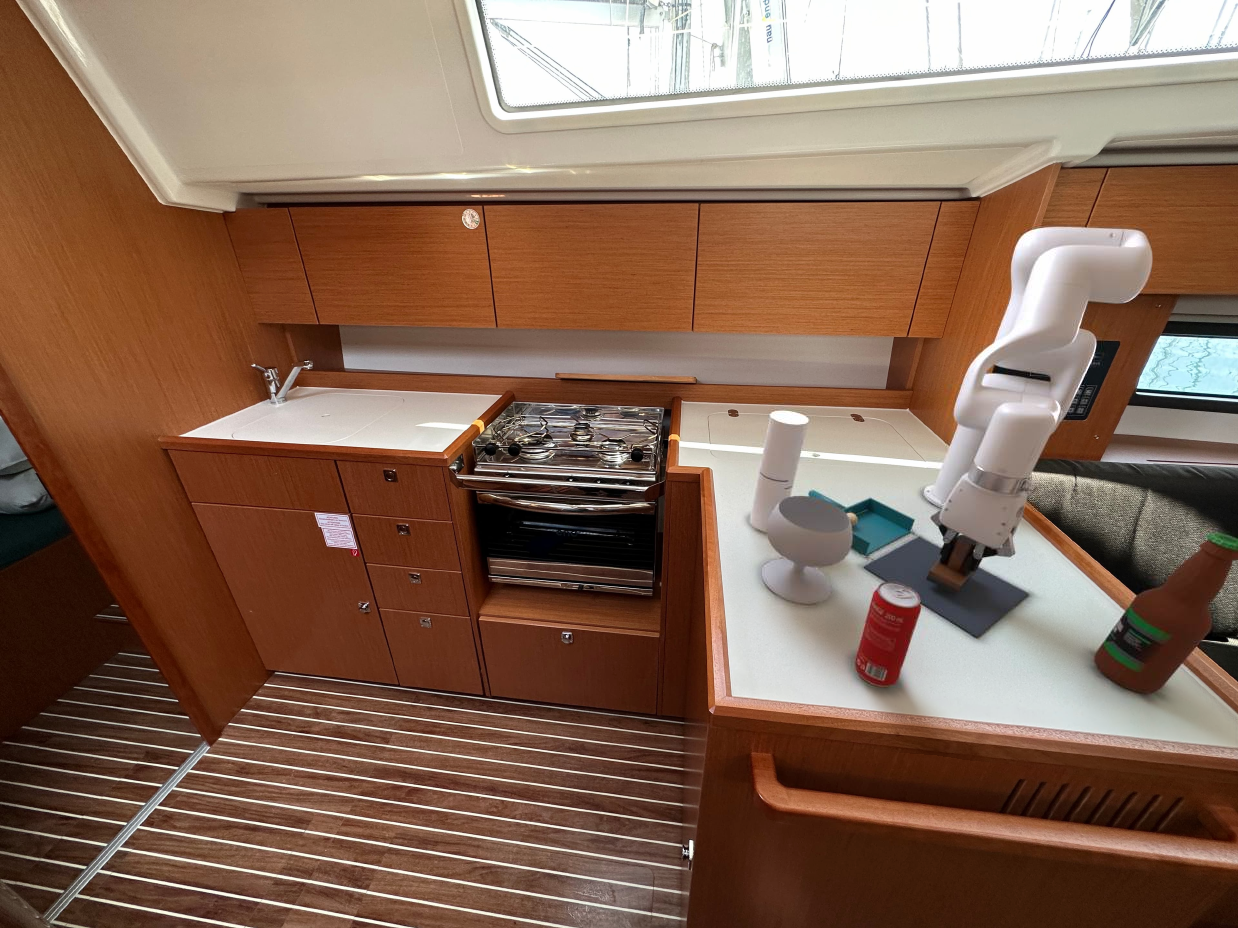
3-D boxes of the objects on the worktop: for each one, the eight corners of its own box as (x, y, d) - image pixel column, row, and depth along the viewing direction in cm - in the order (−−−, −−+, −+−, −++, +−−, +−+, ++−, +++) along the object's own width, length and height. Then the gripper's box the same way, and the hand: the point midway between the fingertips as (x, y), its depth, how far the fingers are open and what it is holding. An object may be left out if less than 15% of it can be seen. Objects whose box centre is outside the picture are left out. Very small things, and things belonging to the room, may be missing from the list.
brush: (946, 558, 91) (961, 523, 88) (975, 572, 88) (993, 536, 84) (925, 579, 86) (941, 543, 82) (956, 594, 82) (973, 557, 78)
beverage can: (902, 692, 66) (938, 614, 60) (853, 683, 67) (883, 605, 61) (889, 659, 72) (921, 583, 65) (844, 651, 73) (871, 575, 66)
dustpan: (910, 532, 102) (915, 519, 101) (864, 556, 94) (869, 542, 93) (829, 490, 117) (832, 478, 116) (784, 507, 109) (787, 495, 108)
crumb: (849, 526, 104) (848, 513, 105) (861, 526, 102) (860, 512, 102) (839, 526, 103) (838, 513, 103) (851, 526, 100) (850, 512, 101)
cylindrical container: (745, 514, 106) (765, 410, 95) (775, 513, 107) (799, 410, 95) (756, 533, 100) (778, 424, 88) (788, 532, 100) (815, 424, 89)
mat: (918, 537, 101) (918, 536, 100) (1028, 594, 86) (1029, 593, 86) (863, 567, 91) (863, 566, 91) (976, 637, 76) (977, 636, 76)
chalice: (741, 565, 90) (754, 499, 83) (799, 551, 95) (816, 487, 88) (789, 617, 78) (809, 544, 72) (853, 598, 83) (877, 528, 76)
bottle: (1095, 646, 75) (1187, 516, 64) (1159, 677, 70) (1272, 542, 59) (1087, 671, 71) (1185, 536, 59) (1156, 705, 66) (1276, 565, 55)
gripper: (1066, 494, 73) (1016, 585, 81) (955, 454, 85) (921, 536, 94) (1047, 507, 69) (996, 601, 78) (933, 462, 82) (900, 547, 90)
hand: (956, 565), depth 86 cm, fingers closed on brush, 3 cm apart
